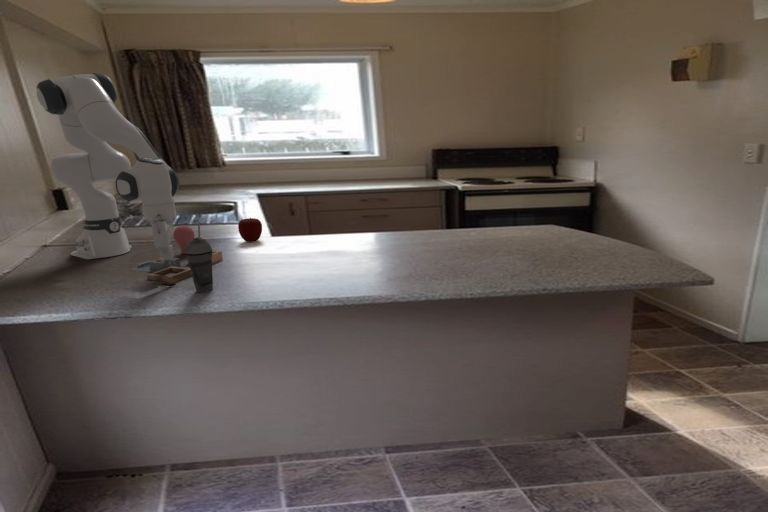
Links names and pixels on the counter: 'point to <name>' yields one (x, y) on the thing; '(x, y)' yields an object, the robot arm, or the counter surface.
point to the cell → (171, 260)
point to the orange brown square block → (215, 256)
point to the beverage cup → (200, 263)
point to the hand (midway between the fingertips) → (167, 256)
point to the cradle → (156, 265)
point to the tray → (173, 278)
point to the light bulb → (183, 236)
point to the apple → (250, 229)
